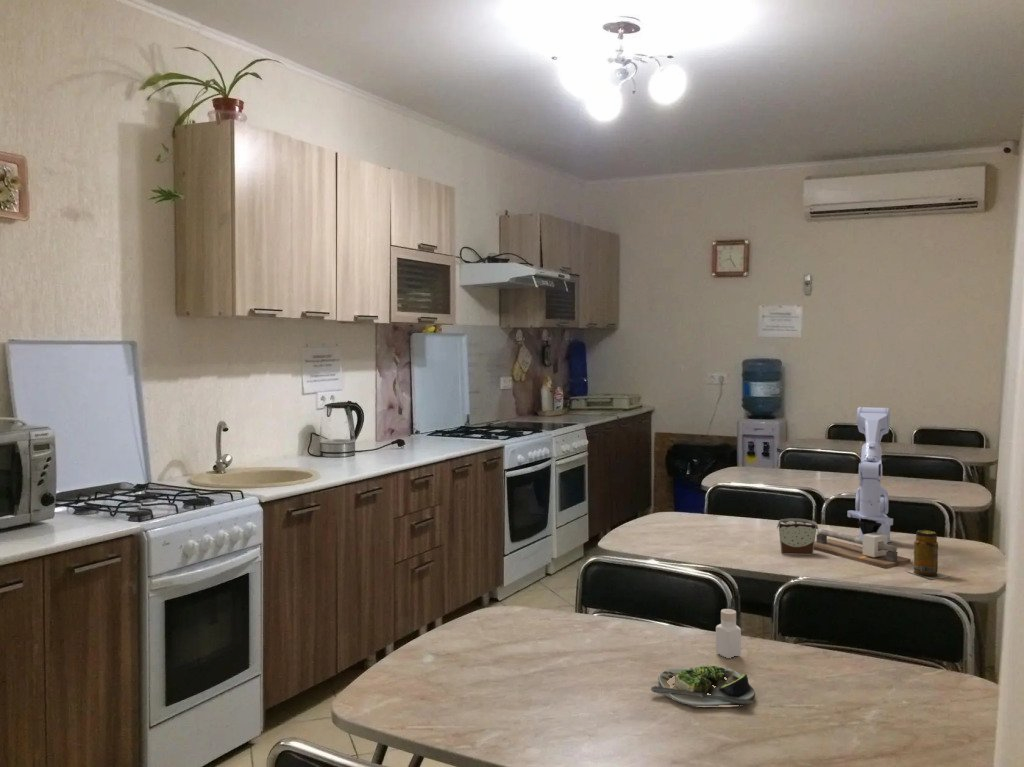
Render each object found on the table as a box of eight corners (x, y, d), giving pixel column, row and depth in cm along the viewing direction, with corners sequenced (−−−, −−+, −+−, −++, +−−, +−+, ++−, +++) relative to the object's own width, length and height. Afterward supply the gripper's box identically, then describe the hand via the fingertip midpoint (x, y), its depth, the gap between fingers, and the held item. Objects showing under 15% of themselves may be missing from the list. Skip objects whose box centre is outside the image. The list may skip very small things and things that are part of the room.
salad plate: (663, 718, 147) (663, 692, 146) (638, 677, 164) (638, 654, 164) (767, 712, 149) (767, 687, 148) (732, 672, 166) (732, 650, 166)
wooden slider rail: (828, 541, 269) (829, 525, 269) (910, 562, 244) (910, 544, 244) (803, 546, 263) (804, 529, 263) (884, 568, 238) (885, 549, 238)
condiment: (925, 569, 237) (926, 528, 237) (950, 577, 229) (951, 534, 229) (905, 571, 235) (906, 530, 234) (930, 580, 227) (930, 537, 226)
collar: (875, 551, 251) (875, 532, 251) (886, 554, 248) (887, 534, 247) (862, 554, 248) (862, 534, 248) (874, 557, 245) (874, 537, 244)
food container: (813, 549, 260) (813, 518, 259) (817, 554, 254) (818, 522, 253) (772, 548, 261) (773, 517, 261) (776, 553, 255) (777, 522, 254)
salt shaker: (727, 660, 172) (727, 615, 171) (714, 653, 175) (714, 610, 175) (742, 656, 174) (742, 612, 173) (728, 650, 177) (729, 607, 177)
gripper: (841, 497, 256) (840, 541, 257) (882, 506, 243) (881, 551, 244) (856, 495, 259) (855, 538, 260) (897, 503, 247) (896, 548, 248)
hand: (869, 544), depth 252 cm, fingers closed
